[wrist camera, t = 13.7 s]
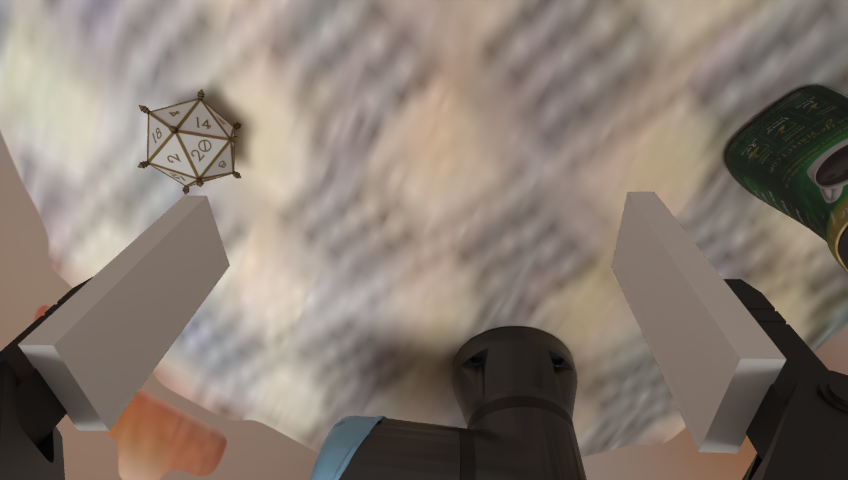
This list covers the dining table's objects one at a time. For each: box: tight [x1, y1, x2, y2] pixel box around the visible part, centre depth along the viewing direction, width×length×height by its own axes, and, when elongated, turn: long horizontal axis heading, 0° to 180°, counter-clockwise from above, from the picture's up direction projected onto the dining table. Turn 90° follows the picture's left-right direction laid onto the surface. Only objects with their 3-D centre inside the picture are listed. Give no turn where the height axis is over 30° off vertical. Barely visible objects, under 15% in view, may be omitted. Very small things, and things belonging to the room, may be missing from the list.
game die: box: [138, 89, 242, 195], centre depth 41 cm, size 9×8×10 cm
